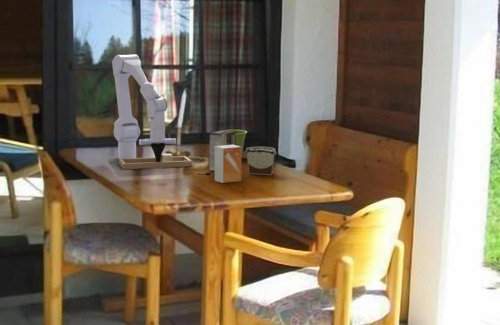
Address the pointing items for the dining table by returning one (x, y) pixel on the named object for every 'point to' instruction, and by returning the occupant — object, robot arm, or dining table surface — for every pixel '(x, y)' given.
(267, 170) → the food container
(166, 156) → the birch cube
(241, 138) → the plant pot
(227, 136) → the coffee box
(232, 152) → the small box
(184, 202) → the dining table surface
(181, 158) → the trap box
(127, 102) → the robot arm
